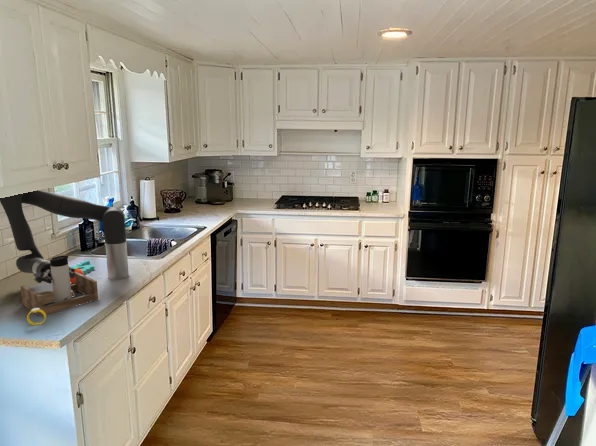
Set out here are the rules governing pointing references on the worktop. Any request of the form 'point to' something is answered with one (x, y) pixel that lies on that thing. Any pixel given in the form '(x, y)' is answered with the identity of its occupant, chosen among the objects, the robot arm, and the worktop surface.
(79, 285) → the walnut rack
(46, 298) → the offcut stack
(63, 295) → the travel mug
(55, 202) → the robot arm
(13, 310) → the worktop surface
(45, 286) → the mat
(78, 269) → the clementine
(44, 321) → the watch
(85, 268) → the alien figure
